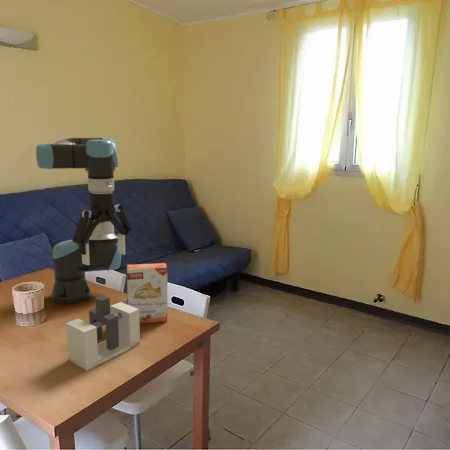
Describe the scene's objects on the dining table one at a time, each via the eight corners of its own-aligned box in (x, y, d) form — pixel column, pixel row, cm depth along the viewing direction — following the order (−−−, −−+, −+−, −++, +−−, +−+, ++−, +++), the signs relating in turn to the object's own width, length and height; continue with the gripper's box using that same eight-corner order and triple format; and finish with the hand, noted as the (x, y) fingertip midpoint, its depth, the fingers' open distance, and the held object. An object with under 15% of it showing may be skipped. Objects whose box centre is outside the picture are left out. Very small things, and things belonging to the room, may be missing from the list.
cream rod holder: (68, 360, 123) (65, 323, 121) (121, 335, 139) (120, 302, 136) (86, 370, 118) (84, 332, 115) (140, 343, 134) (139, 309, 131)
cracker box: (128, 325, 146) (126, 269, 141) (128, 318, 152) (126, 263, 147) (168, 322, 149) (167, 267, 145) (166, 315, 155) (165, 261, 150)
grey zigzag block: (90, 340, 129) (88, 295, 126) (98, 336, 132) (96, 292, 128) (110, 350, 124) (108, 303, 120) (118, 346, 126) (117, 300, 123)
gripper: (72, 198, 113) (76, 271, 118) (141, 188, 132) (142, 252, 137) (56, 195, 117) (61, 266, 122) (126, 186, 137) (128, 247, 142)
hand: (104, 258), depth 130 cm, fingers open, 13 cm apart
